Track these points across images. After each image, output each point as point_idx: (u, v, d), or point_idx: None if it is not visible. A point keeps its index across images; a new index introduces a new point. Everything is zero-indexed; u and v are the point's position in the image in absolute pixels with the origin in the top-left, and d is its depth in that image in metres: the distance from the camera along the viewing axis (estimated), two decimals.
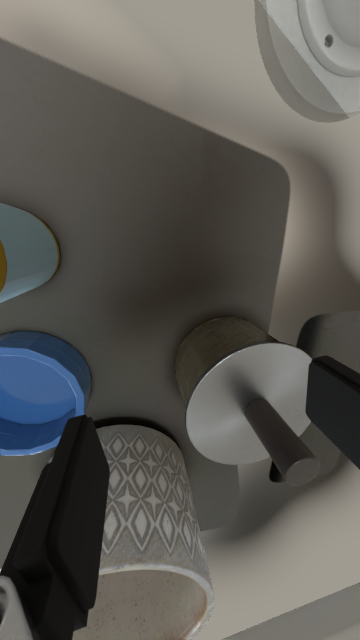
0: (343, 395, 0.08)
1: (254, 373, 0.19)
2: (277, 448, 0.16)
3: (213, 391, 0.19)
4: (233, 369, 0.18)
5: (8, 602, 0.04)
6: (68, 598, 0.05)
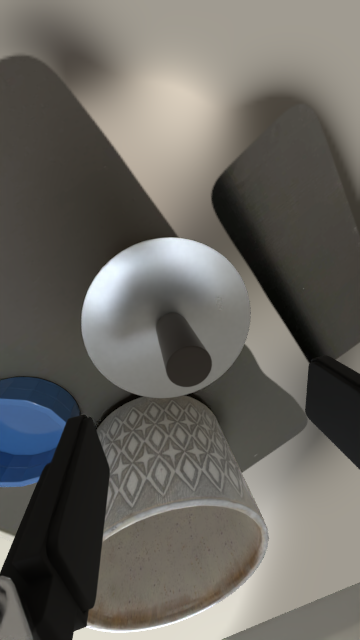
0: (343, 395, 0.08)
1: (128, 298, 0.16)
2: (163, 359, 0.13)
3: (106, 341, 0.17)
4: (102, 310, 0.16)
5: (8, 602, 0.04)
6: (68, 599, 0.05)
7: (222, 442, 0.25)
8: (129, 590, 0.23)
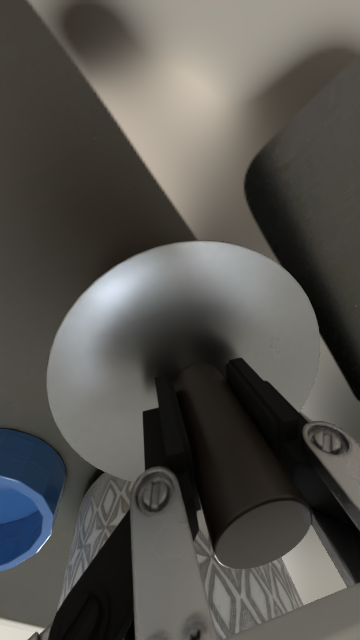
0: (242, 394, 0.08)
1: (128, 343, 0.09)
2: (197, 488, 0.06)
3: (91, 413, 0.10)
4: (83, 365, 0.09)
5: (170, 479, 0.06)
6: None
7: None
8: None
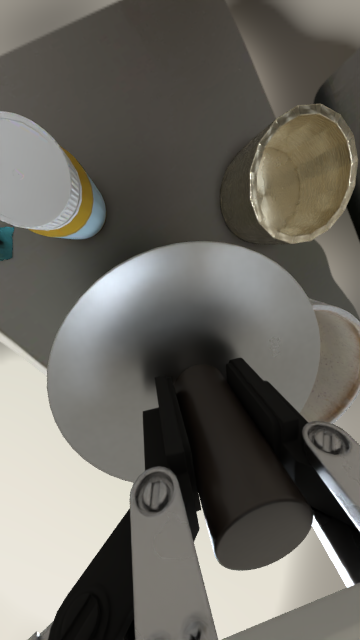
0: (242, 394, 0.08)
1: (129, 344, 0.09)
2: (198, 489, 0.06)
3: (91, 413, 0.10)
4: (83, 366, 0.09)
5: (170, 479, 0.06)
6: None
7: None
8: None
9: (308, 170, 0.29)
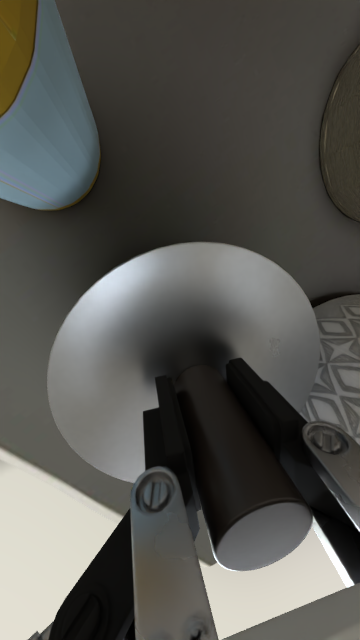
0: (242, 394, 0.08)
1: (128, 345, 0.09)
2: None
3: (91, 414, 0.10)
4: (83, 366, 0.09)
5: (171, 479, 0.06)
6: None
7: None
8: None
9: None
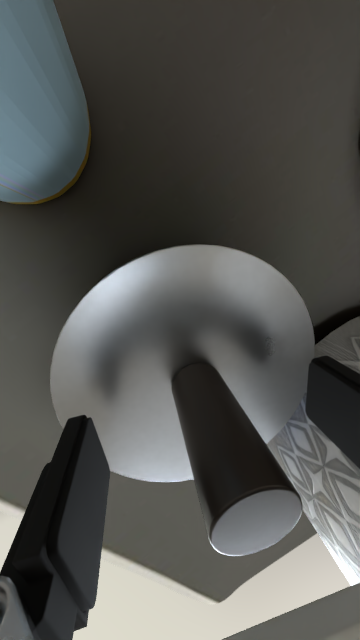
0: (343, 395, 0.08)
1: (129, 344, 0.10)
2: (194, 481, 0.07)
3: (93, 411, 0.10)
4: (85, 364, 0.10)
5: (8, 602, 0.04)
6: (68, 598, 0.05)
7: None
8: None
9: None
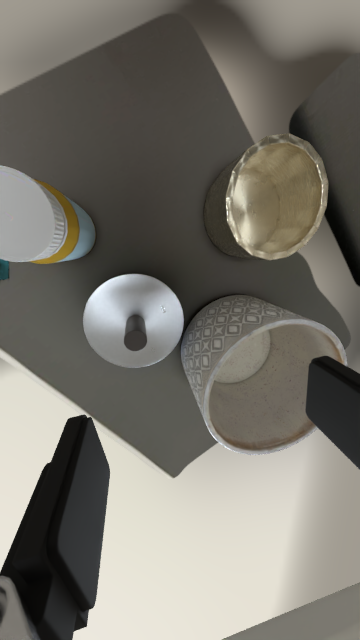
0: (343, 395, 0.08)
1: (109, 307, 0.29)
2: None
3: (97, 332, 0.29)
4: (94, 314, 0.29)
5: (8, 602, 0.04)
6: (68, 598, 0.05)
7: None
8: (232, 431, 0.29)
9: (286, 189, 0.30)
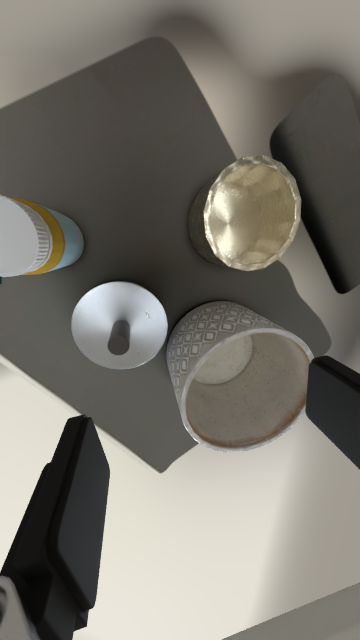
0: (343, 395, 0.08)
1: (96, 312, 0.30)
2: None
3: (85, 335, 0.31)
4: (82, 319, 0.30)
5: (8, 602, 0.04)
6: (68, 598, 0.05)
7: None
8: (211, 430, 0.31)
9: (265, 202, 0.32)
